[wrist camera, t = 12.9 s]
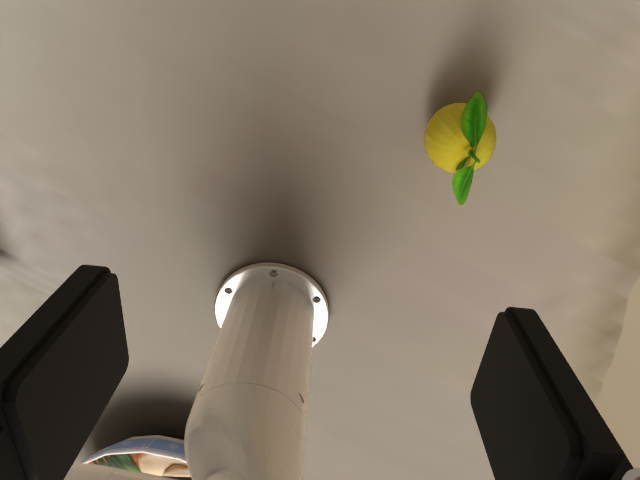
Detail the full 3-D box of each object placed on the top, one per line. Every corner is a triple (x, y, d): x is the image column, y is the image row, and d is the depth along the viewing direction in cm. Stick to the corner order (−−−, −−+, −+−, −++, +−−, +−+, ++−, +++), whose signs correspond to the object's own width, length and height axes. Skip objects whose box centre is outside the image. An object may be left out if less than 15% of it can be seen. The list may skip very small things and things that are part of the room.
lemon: (442, 175, 43) (468, 221, 34) (400, 133, 41) (416, 170, 32) (500, 124, 40) (545, 159, 32) (458, 76, 39) (493, 100, 30)
